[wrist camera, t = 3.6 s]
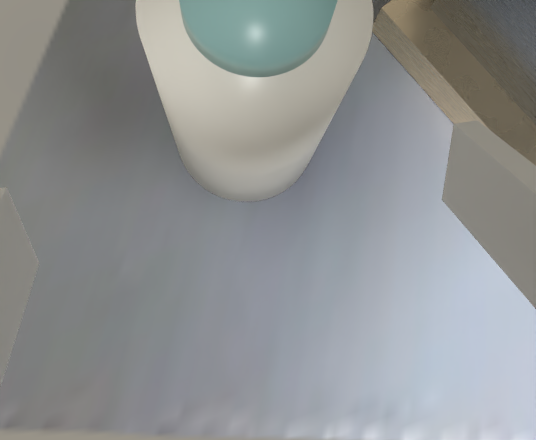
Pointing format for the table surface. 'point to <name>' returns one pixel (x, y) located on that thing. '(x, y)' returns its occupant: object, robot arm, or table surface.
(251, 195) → the cream bottle
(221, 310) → the table surface
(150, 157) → the table surface
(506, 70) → the grey open box
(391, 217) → the table surface
